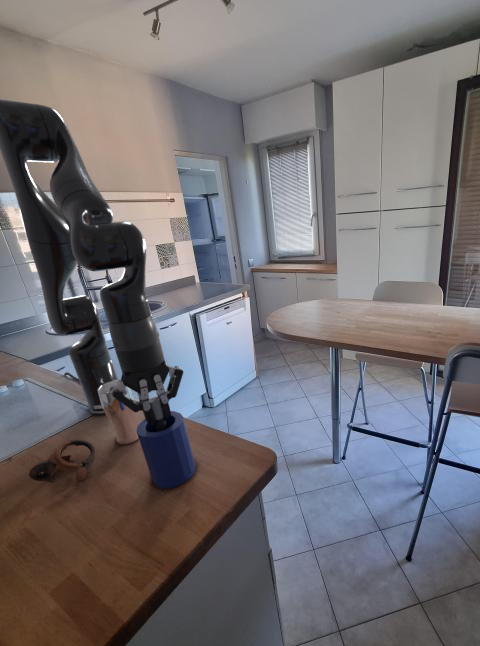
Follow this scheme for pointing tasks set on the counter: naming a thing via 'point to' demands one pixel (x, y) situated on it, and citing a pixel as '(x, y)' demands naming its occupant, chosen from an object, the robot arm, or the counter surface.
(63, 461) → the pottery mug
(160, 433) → the vase
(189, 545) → the counter surface
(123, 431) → the beer glass
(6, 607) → the counter surface
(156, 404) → the marker
